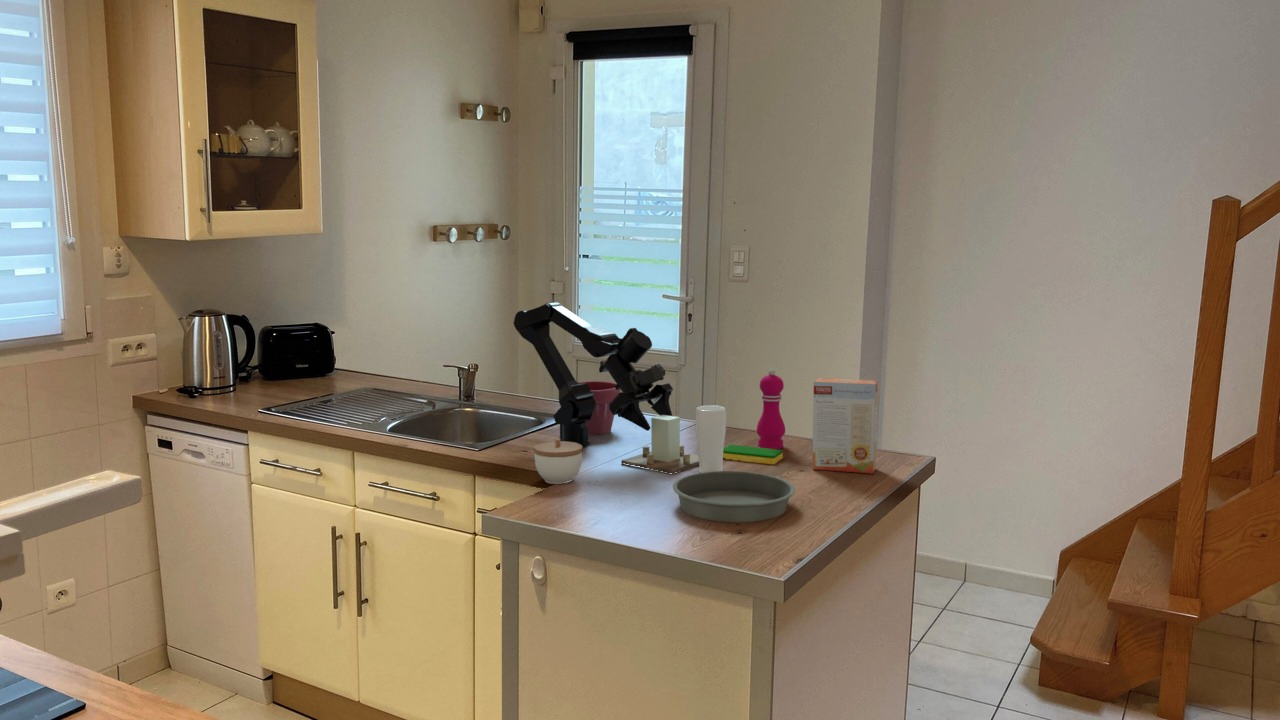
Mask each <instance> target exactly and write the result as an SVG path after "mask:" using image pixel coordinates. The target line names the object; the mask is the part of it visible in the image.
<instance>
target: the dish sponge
mask: <svg viewBox="0 0 1280 720" xmlns="http://www.w3.org/2000/svg"><path fill="white" fill-rule="evenodd" d="M783 454H784V450H782V449H768V448H759V447H758V446H747V445H738V444H737V445H736V444H728V445H727V446H724V452H723V458H726V459H725V460H729V459H733V460H732V461H738V460H740V461H739V462H750V463H757V464H758V463H759V464H768V465H775V464H777V463H778V462H780V461H781V460H782V459H783V458H784V455H783Z"/></svg>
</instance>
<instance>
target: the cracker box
mask: <svg viewBox="0 0 1280 720" xmlns="http://www.w3.org/2000/svg"><path fill="white" fill-rule="evenodd" d="M878 383H879V382H878V380H877V379H876V380H874V379H873V380H872V379H856V378H855V379H853V378H834V377H833V378H830V377H829V378H827V377H817V378H816V379H815V381H813V404H812V405H813V406H812V408H813V409H812V457H811V458H812V464H811V466H812V467H811V468H812V470H817V471H831V472H845V473H846V472H849V473H860V474H874V472H875V470H876V468H877V436H878V435H877V433H878V432H877V431H878V430H877V429H878V427H877V426H878V387H879V386H878Z"/></svg>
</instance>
